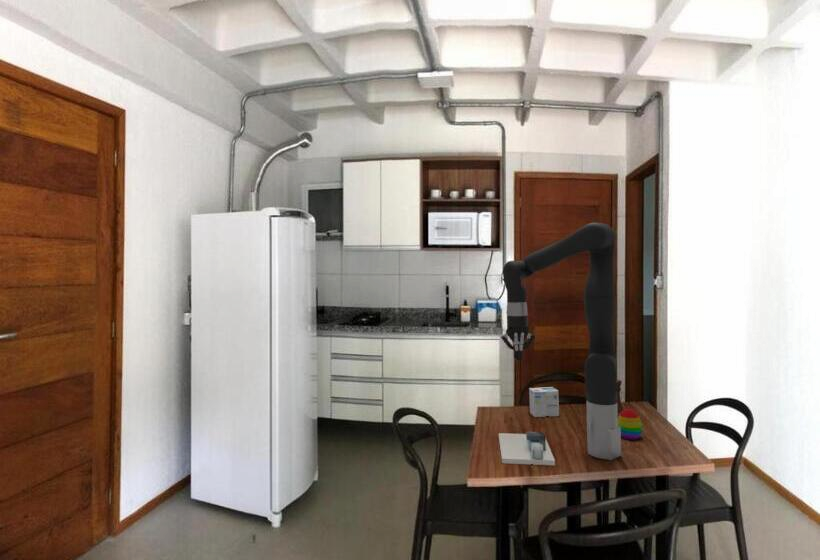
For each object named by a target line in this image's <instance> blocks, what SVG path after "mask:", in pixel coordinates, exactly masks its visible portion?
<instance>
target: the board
mask: <svg viewBox="0 0 820 560" xmlns="http://www.w3.org/2000/svg"><path fill="white" fill-rule="evenodd" d="M498 441H499V442H498V443H499V448H500V457H501V463H502V464H506V465H507V464H511V465H531V464H533V465H534V466H535V465H536V466H537V465H538V466H556V460H555V457H554V455H553V452H552V450H551V448H550V445H549V443H548V441H547V439H546V451H543V459H536V458H533V457H532V456H531V450H530V446H529V443H528V440H527V439H526V433H504V432H503V433H498ZM533 465H532V466H533Z"/></svg>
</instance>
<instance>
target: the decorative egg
mask: <svg viewBox="0 0 820 560" xmlns="http://www.w3.org/2000/svg"><path fill="white" fill-rule="evenodd" d="M618 426H620V427H621V438H623V439H625V440H626V439H627V440H633V441H634V440H637V439H639V437H641V435H642V433H643V423H642V420H641V418H640V416H639V415H638V413H637V412H636V411H634V410H633V409H632V408H625V409H624V410H623V411H622V412H621V413H620V415H619V416H618Z"/></svg>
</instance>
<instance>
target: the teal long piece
mask: <svg viewBox="0 0 820 560" xmlns="http://www.w3.org/2000/svg"><path fill="white" fill-rule="evenodd" d="M534 432H535V433H537V432H536V431H534ZM528 443H529V446H530V450H531V456H532V457H533V458H536V459H543V445H542V444H540V442H539V440H528Z"/></svg>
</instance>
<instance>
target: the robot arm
mask: <svg viewBox="0 0 820 560" xmlns="http://www.w3.org/2000/svg"><path fill="white" fill-rule="evenodd" d="M615 243H616V235H615V231H614V230H613V228H612V227H611V226H610V225H608V224H606V223H602V222H590V223H589V222H588V223H587V224H585V225H583V226H582V227H581V228H579V229H577V230H576V231H574V232H572V233H571V234H570V235H568V236H566V237H565V238H563V239H561V240H559V241H557V242H555V243H552V244H550V245H548V246H546V247H543V248H540V249H538V250H536V251H533V252H532V253H530V254H528V255H527V256H526V258H524V259H521V260H510V261H507V262H506V263H505V264H504V265H503V269H502V277H503V281H504V286H505V290H506V330H505V333H504V334H503V335H501V336H500V339H501V340H502V341H503V343H505V345H506V347H507V348H509V349H510V350H511V351H513V359H514V360H515V361H516V362H517V361H518V362H519V361H522V360H523V351H524V350H527V349H528V347H529V346H530V345H531V344H532V342H533V341H534V339H536V338H535V335H533V334H532V333H530V330H529V329H528V326H529V323H528V322H529V321H528V320H529V319H528V305H527V290H526V287H524V286H523V285H522V282H521V280H524V279H527V278H529V277H530V276H533V275H534V274H536V273H537V272H538V273H539V272H540V271H543V270H546V269H548V268H551V267H552V266H553V267H554V266H555V265H557V264H559V263H560V262H562V261H563V260H565V259H567V258H568V257H571V256H574V255H576V254H581V253H584V252H589V262H590V265H589V272H588V276H587V279H586V283H585V286H584V291H583V292H584V293H583V296H584V297H583V299H584V300H583V301H584V305H583V306H584V314H585V320H586V324H587V329H588V336H589V337H588V338H589V344H588V346H589V347H588V355H587V356H588V357H587V358H586V361H585V363H584V386H585V387H584V389H585V396H586V397H585V398H586V435H587V436H586V440H587V441H586V442H587V444H586V446H587V453H588V455H589V456H591V457H593V458H594V457H595V458H597V459H601V460H608V461H613V460H615V459H617V458H619V457H621V456H622V436H621V427H620V426H618V414H617V389H616V380H617V369H618V364H617V357H616V351H615V344H614V329H615V319H616V318H615V317H616V298H615V296H616V293H615V275H614V254H615V246H616V245H615ZM509 339H510V341H511V342H510V341H509Z"/></svg>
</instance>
